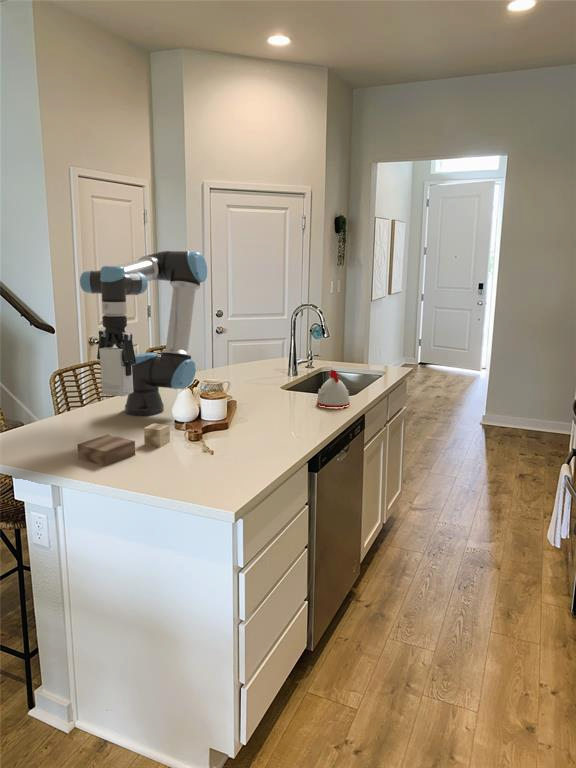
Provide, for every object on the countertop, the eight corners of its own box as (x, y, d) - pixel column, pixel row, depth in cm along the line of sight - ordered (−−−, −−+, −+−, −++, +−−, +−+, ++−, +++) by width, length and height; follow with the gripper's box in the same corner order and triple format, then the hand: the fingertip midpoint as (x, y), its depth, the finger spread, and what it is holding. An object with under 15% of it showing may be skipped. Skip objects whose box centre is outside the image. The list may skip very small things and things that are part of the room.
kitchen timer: (341, 400, 259) (342, 366, 256) (354, 407, 246) (356, 372, 243) (312, 402, 255) (313, 368, 251) (324, 410, 242) (325, 374, 239)
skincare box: (133, 393, 195) (132, 347, 192) (122, 397, 189) (120, 349, 186) (112, 390, 198) (111, 345, 195) (100, 394, 192) (98, 347, 189)
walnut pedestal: (78, 459, 180) (77, 444, 179) (108, 449, 190) (107, 434, 189) (105, 467, 174) (105, 451, 173) (135, 456, 184) (134, 440, 183)
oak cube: (144, 445, 193) (143, 428, 192) (154, 440, 199) (153, 423, 198) (160, 447, 191) (159, 430, 190) (169, 442, 197) (169, 425, 196)
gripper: (83, 313, 191) (86, 380, 196) (127, 318, 179) (130, 389, 184) (102, 312, 197) (105, 377, 202) (146, 316, 185) (148, 386, 190)
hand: (117, 383), depth 193 cm, fingers closed on skincare box, 9 cm apart
